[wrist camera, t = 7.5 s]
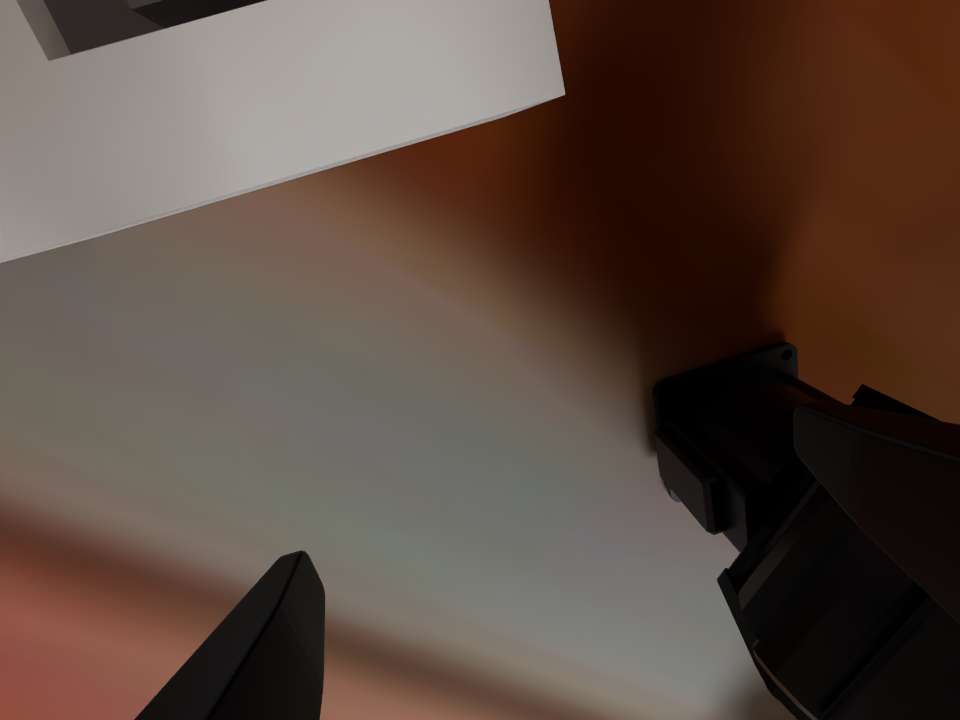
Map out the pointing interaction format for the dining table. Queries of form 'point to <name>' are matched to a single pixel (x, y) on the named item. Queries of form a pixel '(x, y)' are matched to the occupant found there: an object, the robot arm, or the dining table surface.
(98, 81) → the box
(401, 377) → the dining table surface
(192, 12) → the silver metal block
